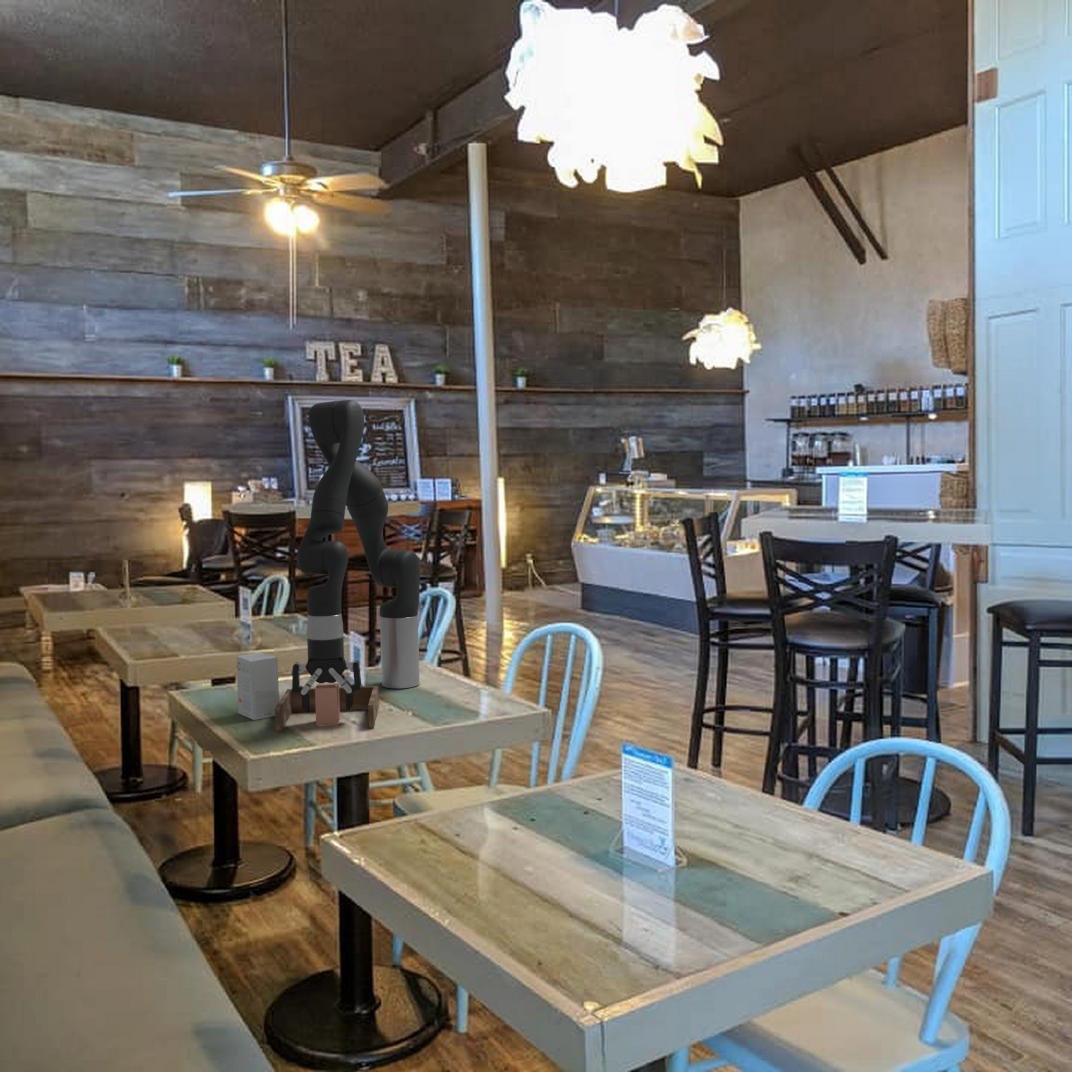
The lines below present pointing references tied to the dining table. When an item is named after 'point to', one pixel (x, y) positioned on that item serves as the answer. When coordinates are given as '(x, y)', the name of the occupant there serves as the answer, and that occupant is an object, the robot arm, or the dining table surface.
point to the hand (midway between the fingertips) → (327, 710)
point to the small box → (257, 685)
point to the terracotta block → (327, 704)
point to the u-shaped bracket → (361, 700)
